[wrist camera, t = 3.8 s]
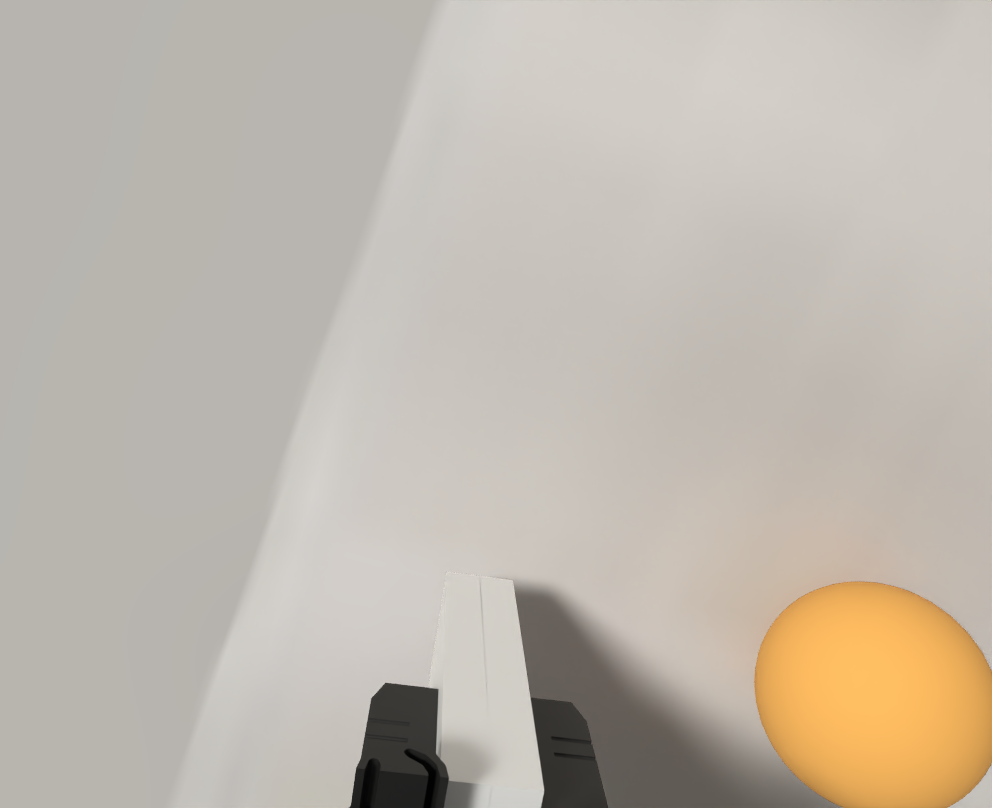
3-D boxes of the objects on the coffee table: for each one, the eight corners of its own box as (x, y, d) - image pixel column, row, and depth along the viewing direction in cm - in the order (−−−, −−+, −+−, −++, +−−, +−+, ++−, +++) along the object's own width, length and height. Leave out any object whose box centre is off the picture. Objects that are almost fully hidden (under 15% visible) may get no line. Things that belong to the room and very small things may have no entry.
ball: (940, 560, 20) (1096, 674, 15) (885, 730, 21) (1014, 887, 16) (750, 533, 19) (848, 641, 15) (705, 709, 21) (782, 863, 16)
